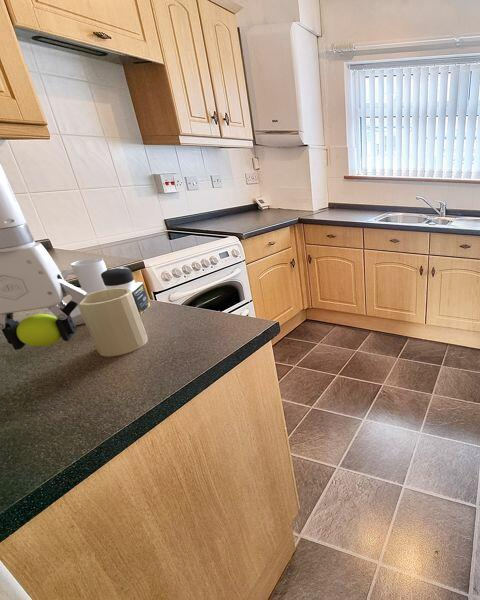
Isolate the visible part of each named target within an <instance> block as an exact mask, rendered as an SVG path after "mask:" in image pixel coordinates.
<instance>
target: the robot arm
mask: <svg viewBox="0 0 480 600" xmlns="http://www.w3.org/2000/svg"><path fill="white" fill-rule="evenodd" d="M61 273H62V272H61V270H60V269H59V267H58V265H57V263H56V262H55V260H54V259H53V258H52V256H51V255H50V253H49V252H48V251H47V249H46V247H44V245H43V244H42V243H41V242H39V241H37V242H36V241H35V239H34V237H33V235H32V232H31V230H30V228H29V225H28V223H27V220H26V218H25V216H24V214H23V211H22V209H21V206H20V204H19V202H18V200H17V198H16V196H15V193H14V191H13V189H12V187H11V184H10V181H9V179H8V177H7V175H6V173H5V170H4V168H3V166H2V164H1V163H0V330H1V331H2V334H3V336H4V337H5V339H6V342H7V343H8V344H9V345H12V347H13V349H14V350H15V351H17V350H22V349H23V348H24V347H25V346H26V344H25V343H23V342H22V341H21V340H20V339H19V338H18V336H17V333H16V330H17V327H18V325H19V323H20V322H21V321H18V320H15V319H14V313H20V312H29V311H34V310H42V309H47V310H49V311H51V312H52V313H53V314H54V315H55V316H56V317H57V320H56V322H55V323H56V326H57V328H58V330H59V332H60V334H61V336H62V337H61V339H62V341H64V342H68V341H69V342H70V341H71V339H72V338H73V337H74V335H75V334H76V333H77V327H76V326H75V325H74V322H73V320H72V318H71V316H70V314H71V312H72V311H73V310H74V309H75V308H76V306H77V305H78V304H79V303H80V302H81V301H82V300H83V299H84V298H85V297H86V296H87V292H85V291H83V290H82V288H80V287H77V286H75V285H74V284H72V283H69V282H68V281H67V280H66V281H65V280H64V278H63V276H62V275H61ZM67 296H71V299H70V300H69V301H68V302H67V303H66V302H65V301H64V298H65V297H67Z"/></svg>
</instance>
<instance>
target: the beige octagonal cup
mask: <svg viewBox="0 0 480 600" xmlns="http://www.w3.org/2000/svg"><path fill="white" fill-rule="evenodd" d="M77 306H78V308H79V310H80V313H81V315H82V317H83V319H84V322H85V323H84V324H85V326H86V328H87V331H88V333H89V336H90V337H91V340H92V342H93V344H94V346H95V349H96V351H97V353H98V355H100V356H102V357H116V356H122V355H125V354H128V353H131V352H134V351H137V350H138V349H140V348H142V347H143V346H145V345H146V344H147V343H148V342H149V337H148V335H147V331H146V329H145V326H144V322H143V321H142V318H141V316H140V315H139V312H138V309H137V306H136V304H135V301H134V298H133V295H132V293H131V290H130V289H127V288H111V289H105V290H100V291H96V292H92V293H89V294H87V296H86V297H85V298H84V299H83V300H82V301H81V302H80V303H79V304H78V305H77Z"/></svg>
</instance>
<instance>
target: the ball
mask: <svg viewBox="0 0 480 600" xmlns="http://www.w3.org/2000/svg"><path fill="white" fill-rule="evenodd" d="M56 320H57V318H56V317H54V316H52V315H48V314H44V313H37V314H36V313H35V314H31V315H29V316H27V317H25V318H23V319H22V320H21V321H19V322H20V323H19V325H18V327H17V330H16V333H17V336H18V338H19V339H20V340H21V341H22V342H23V343H25V345H26V346H29V347H34V348H35V347H36V348H39V347H40V348H42V347H48V346H52V345H54V344H56V343H57V342H58V341H60V340H61V339H62V336H61V334H60V332H59V330H58V328H57V326H56V323H55V322H56Z"/></svg>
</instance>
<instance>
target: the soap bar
mask: <svg viewBox="0 0 480 600" xmlns="http://www.w3.org/2000/svg"><path fill="white" fill-rule="evenodd" d="M43 314H48V315H52V316H54V317H56V316H55V315H54V314H53V313H52V312H51V311H50V310H49V311H46V312H44V313H43ZM70 316H71V318H72V320H73V322H74V325H75V327H76V326H79V325H83V324H85V322H84V319H83V317H82V315H81V313H80V310H79V308H78V306H76V308H75V309H74V310H73V311H72V312H71V314H70ZM56 318H57V317H56Z"/></svg>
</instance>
